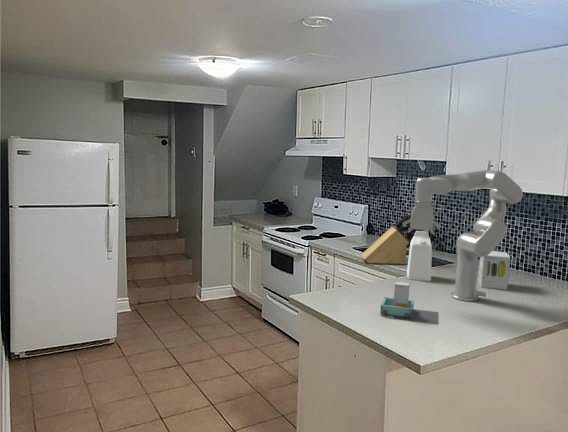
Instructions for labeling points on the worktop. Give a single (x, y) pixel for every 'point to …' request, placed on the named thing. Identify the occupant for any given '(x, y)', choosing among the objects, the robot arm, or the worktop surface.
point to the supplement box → (494, 270)
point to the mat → (420, 316)
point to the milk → (420, 257)
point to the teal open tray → (396, 308)
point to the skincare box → (401, 294)
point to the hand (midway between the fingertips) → (420, 241)
